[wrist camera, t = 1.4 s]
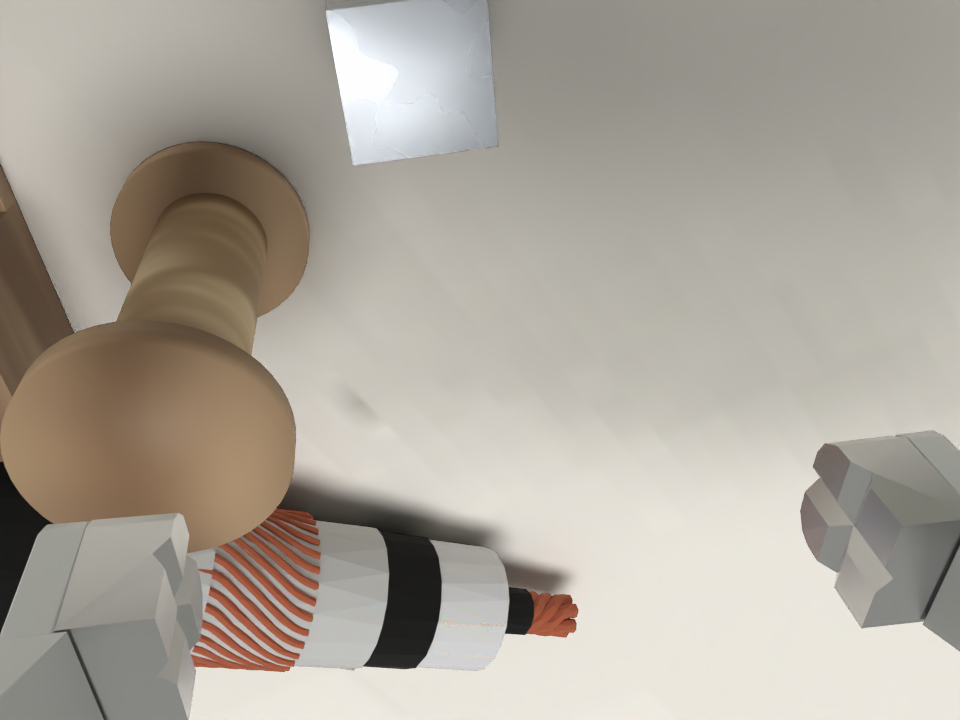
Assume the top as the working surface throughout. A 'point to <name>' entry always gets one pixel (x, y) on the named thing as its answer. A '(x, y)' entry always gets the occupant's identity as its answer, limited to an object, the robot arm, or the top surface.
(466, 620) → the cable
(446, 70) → the block
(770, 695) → the top surface
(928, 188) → the top surface
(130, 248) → the bobbin
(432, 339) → the top surface
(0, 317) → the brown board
